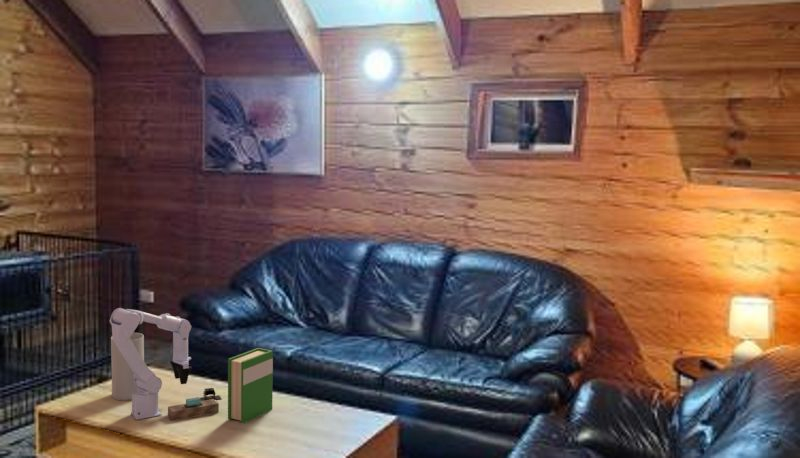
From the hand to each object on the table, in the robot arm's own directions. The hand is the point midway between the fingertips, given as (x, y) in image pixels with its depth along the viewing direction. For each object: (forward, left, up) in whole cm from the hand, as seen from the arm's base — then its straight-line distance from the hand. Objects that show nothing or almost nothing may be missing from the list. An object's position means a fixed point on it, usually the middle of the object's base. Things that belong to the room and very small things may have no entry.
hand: (180, 381), depth 287 cm
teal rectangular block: (+1, -13, -10) cm, 16 cm away
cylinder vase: (-16, +19, -10) cm, 27 cm away
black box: (+12, 0, -10) cm, 16 cm away
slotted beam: (+1, -13, -9) cm, 16 cm away
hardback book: (+20, -24, -10) cm, 33 cm away
